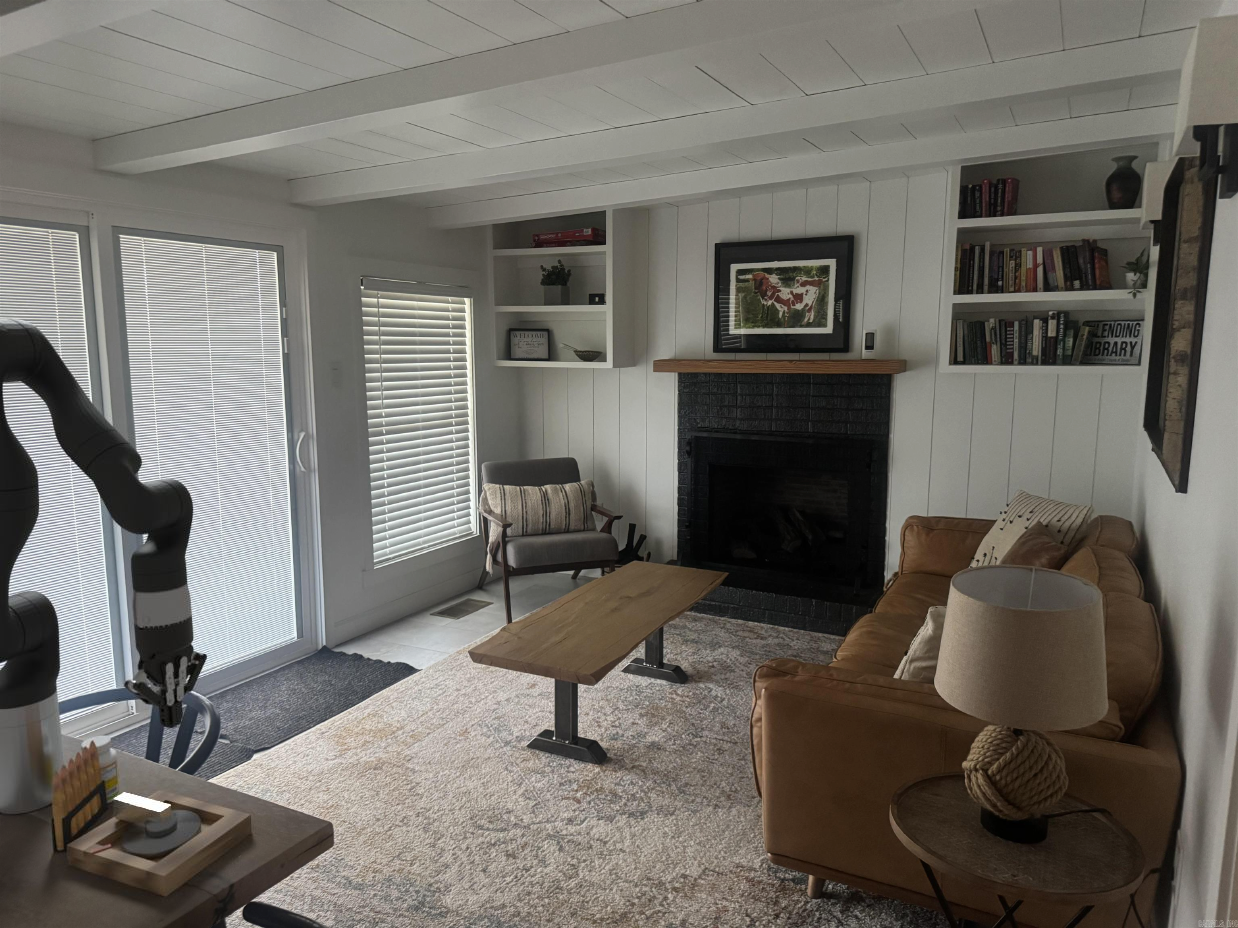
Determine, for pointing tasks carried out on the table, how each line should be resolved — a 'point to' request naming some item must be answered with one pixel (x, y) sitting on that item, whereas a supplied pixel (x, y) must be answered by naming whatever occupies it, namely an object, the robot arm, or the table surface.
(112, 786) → the supplement bottle
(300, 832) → the table surface
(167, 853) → the dial
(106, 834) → the wooden tray
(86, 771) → the ammunition clip
